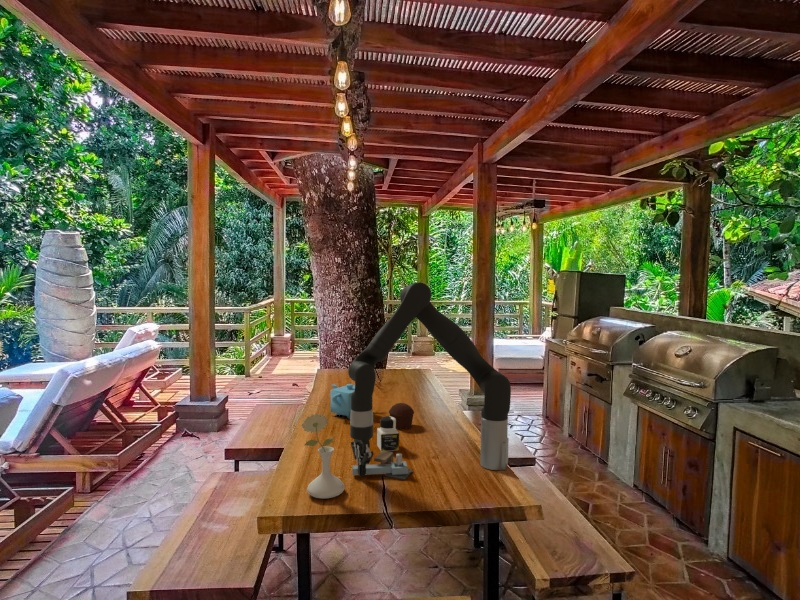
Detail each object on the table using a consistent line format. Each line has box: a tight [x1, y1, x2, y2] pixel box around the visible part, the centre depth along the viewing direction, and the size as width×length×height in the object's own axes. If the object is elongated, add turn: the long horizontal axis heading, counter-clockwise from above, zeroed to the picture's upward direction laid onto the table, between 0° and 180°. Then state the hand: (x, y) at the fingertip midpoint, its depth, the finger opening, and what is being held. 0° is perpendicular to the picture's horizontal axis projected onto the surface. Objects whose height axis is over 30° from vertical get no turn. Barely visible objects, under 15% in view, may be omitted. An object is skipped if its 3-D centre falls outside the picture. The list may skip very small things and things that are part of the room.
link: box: [352, 460, 409, 476], centre depth 156 cm, size 18×5×2 cm, turn 97°
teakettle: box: [330, 383, 355, 420], centre depth 222 cm, size 19×19×15 cm
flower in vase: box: [301, 413, 345, 499], centre depth 142 cm, size 13×11×25 cm
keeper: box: [373, 451, 394, 464], centre depth 159 cm, size 4×7×5 cm, turn 157°
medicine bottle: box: [376, 415, 400, 453], centre depth 179 cm, size 7×7×12 cm
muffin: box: [388, 402, 415, 430], centre depth 205 cm, size 12×11×10 cm
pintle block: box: [384, 452, 413, 481], centre depth 156 cm, size 7×7×7 cm
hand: (361, 474), depth 152 cm, fingers closed
